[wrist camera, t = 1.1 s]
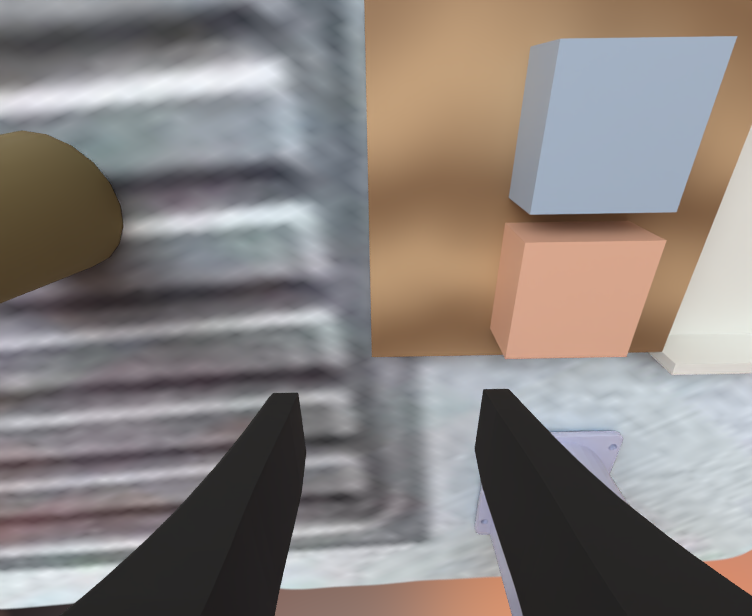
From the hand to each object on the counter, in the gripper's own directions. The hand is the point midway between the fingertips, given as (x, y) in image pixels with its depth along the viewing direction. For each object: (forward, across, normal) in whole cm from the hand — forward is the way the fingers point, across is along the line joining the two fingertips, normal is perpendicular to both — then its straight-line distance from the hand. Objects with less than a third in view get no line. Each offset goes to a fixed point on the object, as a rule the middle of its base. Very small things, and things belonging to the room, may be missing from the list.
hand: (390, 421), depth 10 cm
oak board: (+10, -6, -3) cm, 13 cm away
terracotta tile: (+8, -8, 0) cm, 11 cm away
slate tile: (+8, -8, -6) cm, 13 cm away
